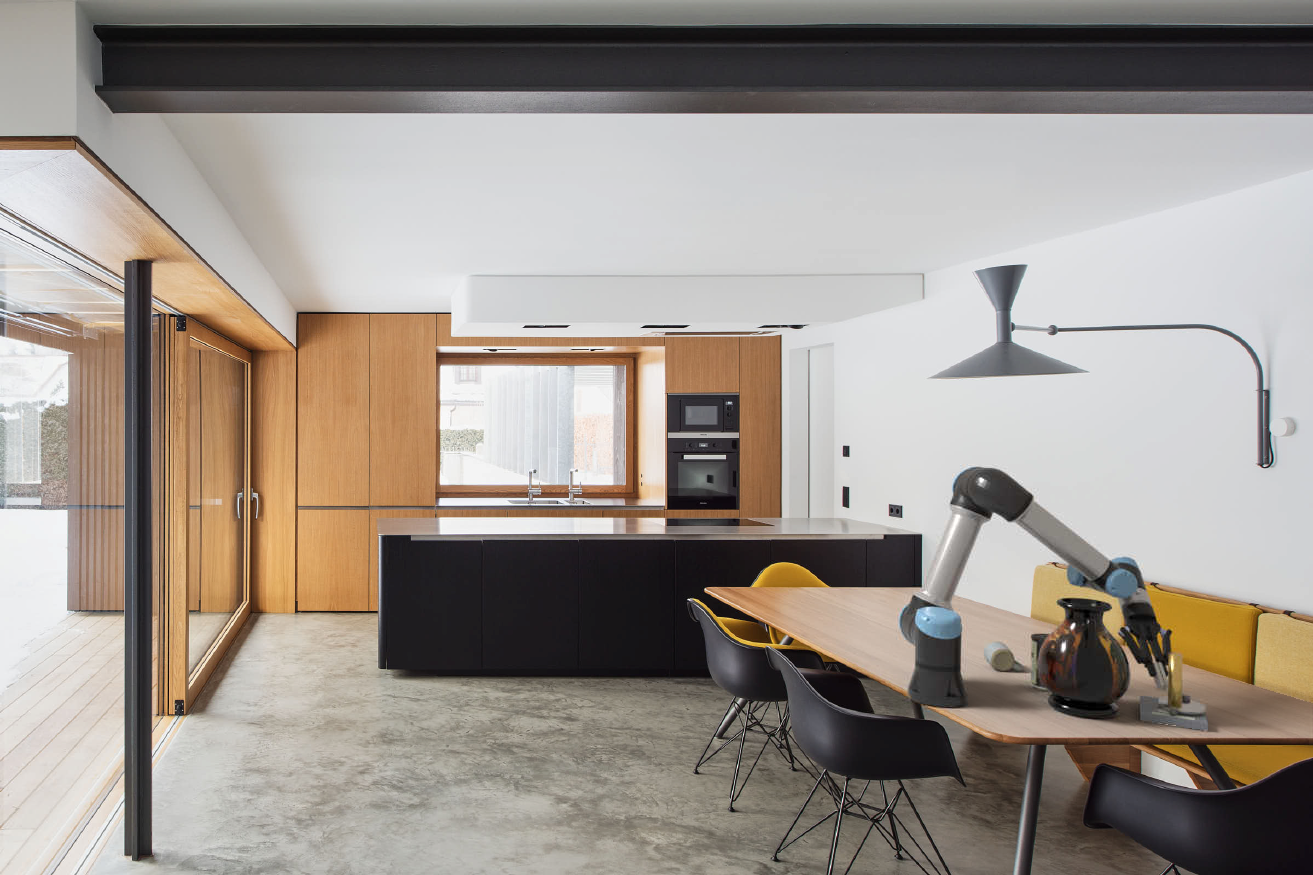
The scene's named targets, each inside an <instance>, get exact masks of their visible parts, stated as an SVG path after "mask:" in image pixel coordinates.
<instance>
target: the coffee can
mask: <svg viewBox="0 0 1313 875" xmlns="http://www.w3.org/2000/svg"><path fill="white" fill-rule="evenodd" d="M1050 634H1051V633H1032V634H1031V635H1030V638H1031V640H1030V641H1031V643H1030V644H1031V646H1030V647H1031V648H1030V649H1031V650H1030V652H1031V654H1030V656H1031V657H1030V685H1031V686H1032V687H1033V688H1036V689H1038V690H1041V691H1045V692H1046V691H1047V692H1049V691H1048V690H1047V689H1046V687H1045V686H1044V685H1043V683H1042V682H1041V680H1040V677H1039V674H1038V657H1039V652H1040V649H1041V647H1042V644H1043V643H1044V641H1045V639H1046V638H1047V637H1048V635H1050Z"/></svg>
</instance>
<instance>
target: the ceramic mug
mask: <svg viewBox="0 0 1313 875" xmlns="http://www.w3.org/2000/svg"><path fill="white" fill-rule="evenodd" d="M983 651H984V652H983V656H984V659H985V660H986V662H987V663H988V664H989V665H990V666H991V667H992V668H993V669H995V670H997V671H998V672H999V671H1000V672H1007V671H1010V670H1011V669H1014V670H1017V671H1019V672H1022V671H1023V670H1024V665H1023V664H1022V663H1020V662H1019V661H1016V660H1015V656H1014V653H1013V652H1012V650H1010V648H1009V647H1008V646H1007V645H1006V644H1005V643H1003V642H1001V641H996V640H995V641H991V642H989V643H988V644H986V646H985V648H984V650H983Z"/></svg>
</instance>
